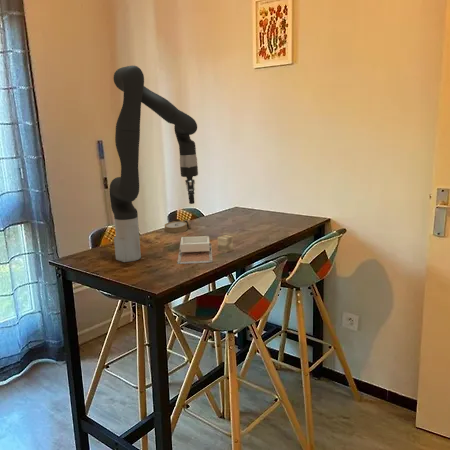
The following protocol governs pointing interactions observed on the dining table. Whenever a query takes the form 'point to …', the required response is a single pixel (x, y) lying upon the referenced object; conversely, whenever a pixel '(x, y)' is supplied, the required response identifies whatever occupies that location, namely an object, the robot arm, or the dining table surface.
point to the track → (195, 257)
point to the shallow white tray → (195, 244)
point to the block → (225, 243)
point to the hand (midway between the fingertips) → (191, 201)
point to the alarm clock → (177, 226)
